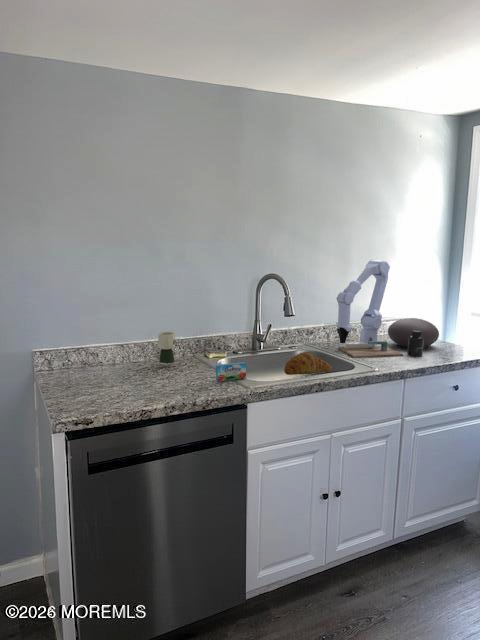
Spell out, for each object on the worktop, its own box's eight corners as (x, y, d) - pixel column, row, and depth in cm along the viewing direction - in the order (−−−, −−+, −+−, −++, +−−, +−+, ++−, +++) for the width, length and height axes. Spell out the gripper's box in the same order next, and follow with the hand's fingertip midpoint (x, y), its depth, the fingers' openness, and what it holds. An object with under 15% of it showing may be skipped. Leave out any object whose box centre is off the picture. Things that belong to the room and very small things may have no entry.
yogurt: (244, 377, 181) (244, 362, 180) (246, 378, 179) (246, 363, 178) (215, 380, 176) (215, 364, 175) (217, 381, 174) (217, 365, 173)
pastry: (290, 378, 181) (291, 358, 180) (276, 369, 193) (277, 351, 192) (336, 374, 189) (337, 354, 188) (319, 366, 201) (320, 347, 199)
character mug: (177, 365, 196) (177, 335, 194) (160, 366, 194) (160, 336, 192) (172, 359, 206) (172, 330, 204) (156, 360, 204) (156, 331, 202)
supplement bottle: (420, 358, 217) (422, 333, 215) (405, 356, 221) (407, 331, 219) (424, 355, 222) (426, 330, 220) (409, 353, 226) (411, 329, 224)
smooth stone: (376, 344, 247) (378, 316, 244) (412, 340, 257) (414, 313, 255) (411, 354, 225) (413, 323, 222) (449, 350, 235) (451, 321, 232)
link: (372, 346, 234) (372, 336, 233) (375, 348, 230) (376, 337, 229) (343, 347, 231) (343, 336, 230) (346, 349, 227) (346, 338, 226)
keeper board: (338, 349, 233) (338, 338, 232) (384, 347, 237) (385, 337, 237) (353, 357, 215) (354, 346, 215) (403, 356, 220) (404, 345, 219)
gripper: (331, 314, 239) (329, 340, 241) (342, 318, 225) (340, 346, 227) (344, 314, 241) (342, 339, 243) (355, 318, 226) (354, 345, 229)
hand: (342, 342), depth 235 cm, fingers closed
